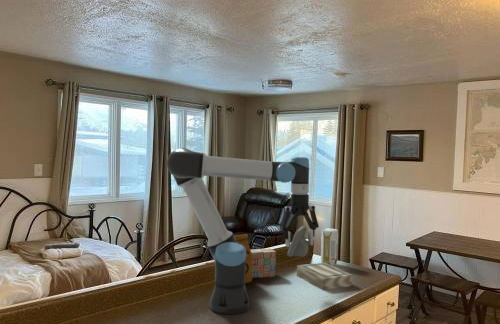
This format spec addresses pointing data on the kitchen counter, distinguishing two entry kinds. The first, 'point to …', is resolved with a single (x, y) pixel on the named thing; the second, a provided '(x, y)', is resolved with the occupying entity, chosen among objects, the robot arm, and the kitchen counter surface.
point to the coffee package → (243, 241)
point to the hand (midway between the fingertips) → (299, 245)
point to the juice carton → (329, 246)
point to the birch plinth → (324, 276)
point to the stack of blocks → (263, 263)
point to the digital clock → (298, 244)
